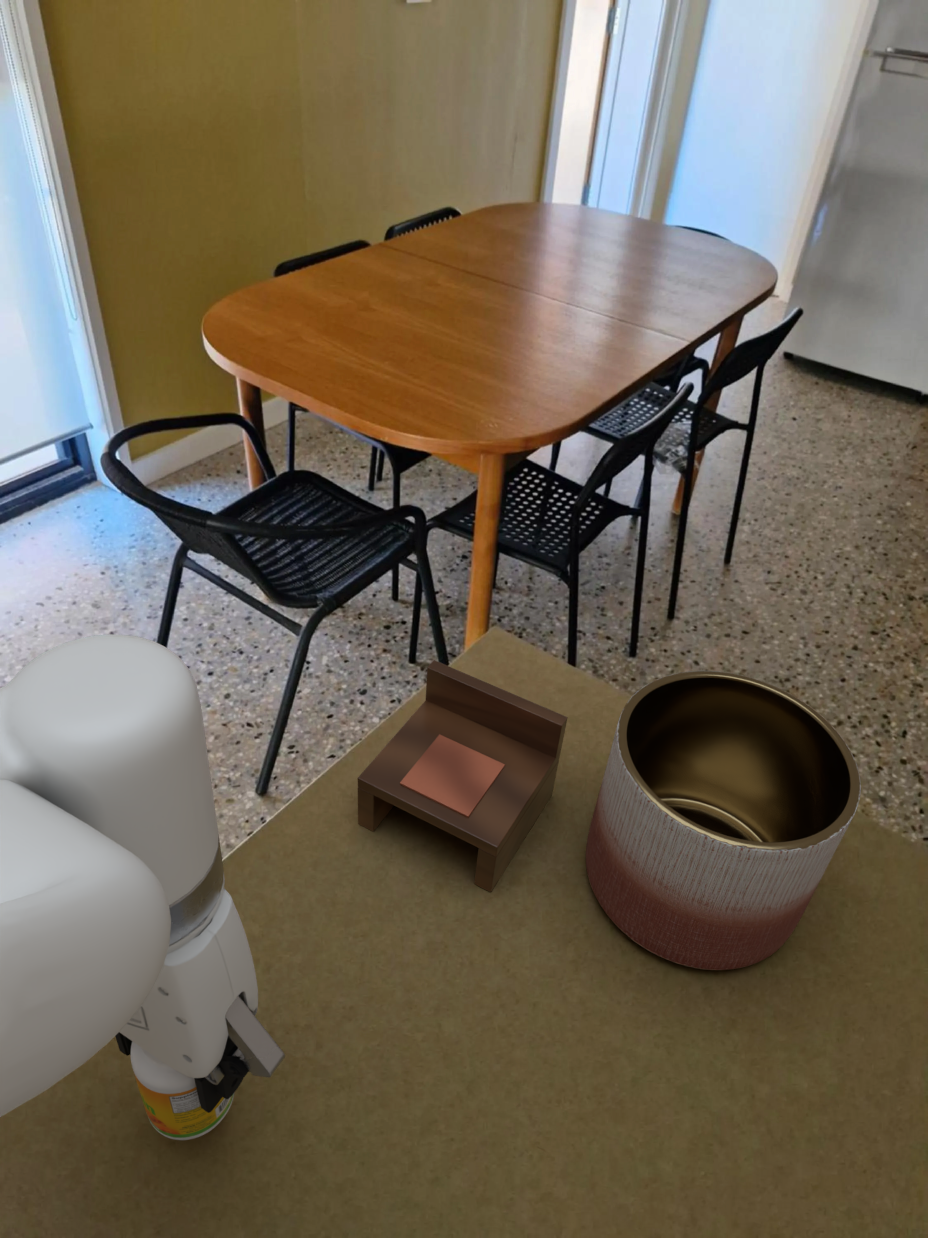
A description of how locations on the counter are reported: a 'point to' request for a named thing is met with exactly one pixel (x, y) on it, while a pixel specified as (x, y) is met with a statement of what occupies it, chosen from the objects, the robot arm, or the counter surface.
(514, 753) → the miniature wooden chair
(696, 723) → the planter
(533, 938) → the counter surface
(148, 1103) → the supplement bottle
